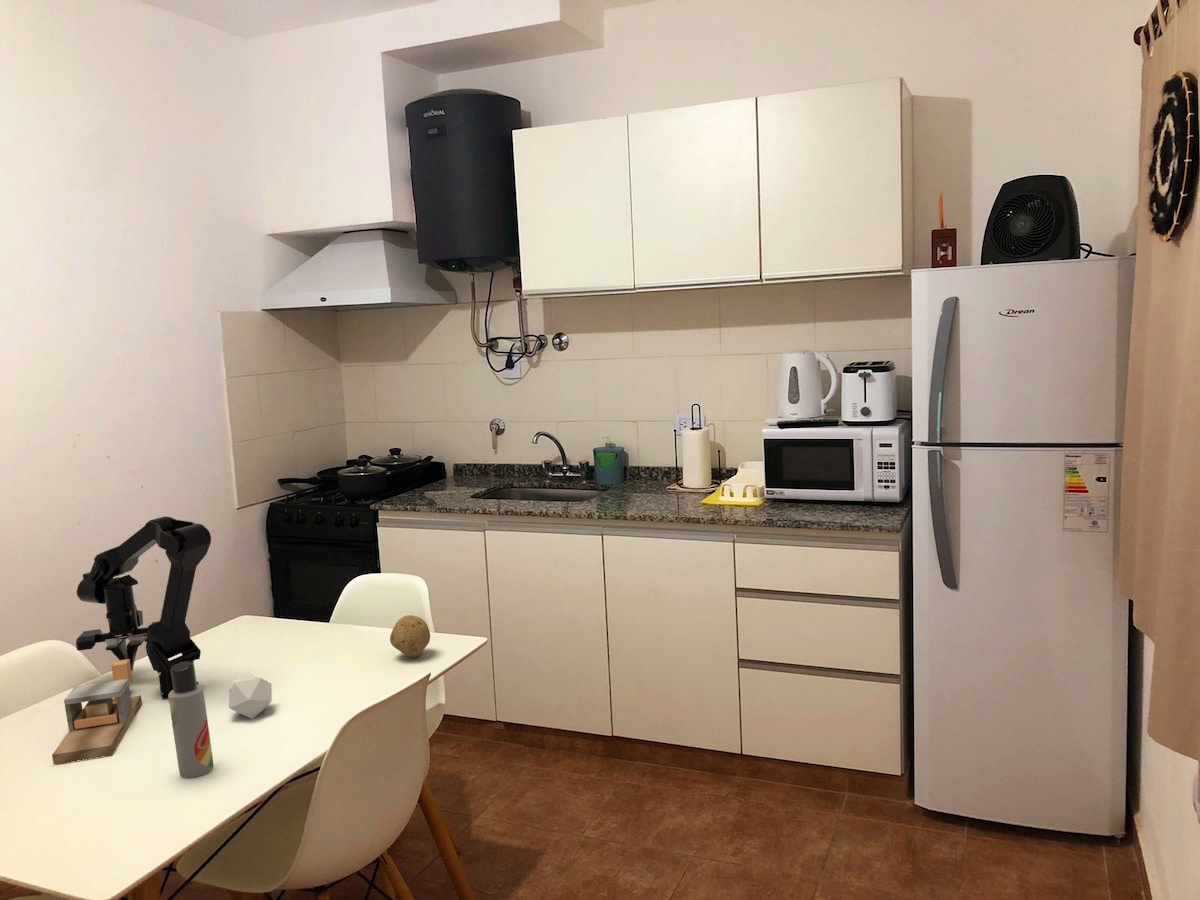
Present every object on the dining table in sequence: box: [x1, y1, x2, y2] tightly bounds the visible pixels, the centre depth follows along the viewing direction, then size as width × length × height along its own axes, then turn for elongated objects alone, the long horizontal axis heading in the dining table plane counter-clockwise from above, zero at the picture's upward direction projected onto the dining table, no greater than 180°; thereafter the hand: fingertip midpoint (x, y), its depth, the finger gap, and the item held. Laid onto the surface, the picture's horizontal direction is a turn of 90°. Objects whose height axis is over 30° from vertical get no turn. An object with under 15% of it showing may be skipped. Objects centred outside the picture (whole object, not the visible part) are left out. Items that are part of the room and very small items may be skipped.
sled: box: [74, 659, 134, 729], centre depth 197 cm, size 8×24×5 cm, turn 14°
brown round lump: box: [389, 614, 431, 659], centre depth 217 cm, size 9×9×10 cm
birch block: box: [84, 698, 114, 718], centre depth 189 cm, size 4×4×4 cm
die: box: [228, 672, 273, 720], centre depth 192 cm, size 8×9×10 cm
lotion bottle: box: [168, 661, 214, 779], centre depth 167 cm, size 6×6×20 cm
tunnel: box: [51, 679, 143, 765], centre depth 187 cm, size 10×25×8 cm, turn 14°
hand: (130, 671), depth 213 cm, fingers closed
